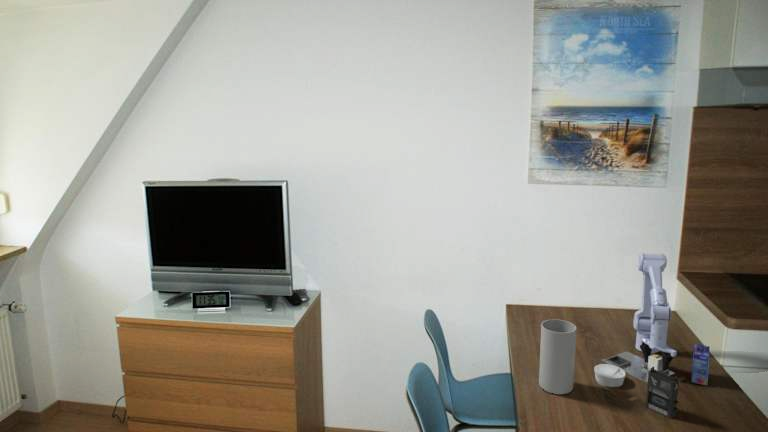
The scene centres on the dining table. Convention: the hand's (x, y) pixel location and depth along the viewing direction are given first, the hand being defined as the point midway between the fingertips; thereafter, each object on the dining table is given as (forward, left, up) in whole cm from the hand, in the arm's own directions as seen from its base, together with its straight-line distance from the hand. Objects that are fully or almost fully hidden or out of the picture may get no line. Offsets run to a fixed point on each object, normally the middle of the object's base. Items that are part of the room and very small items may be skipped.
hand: (655, 365), depth 206 cm
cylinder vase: (+42, -12, -3) cm, 44 cm away
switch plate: (+3, -6, -3) cm, 7 cm away
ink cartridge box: (-11, +11, -3) cm, 16 cm away
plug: (0, 0, -2) cm, 2 cm away
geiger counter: (+22, +18, -3) cm, 29 cm away
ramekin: (+22, -4, -3) cm, 23 cm away
